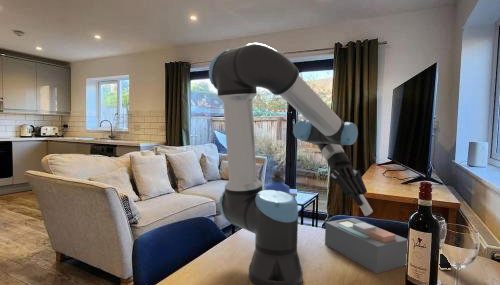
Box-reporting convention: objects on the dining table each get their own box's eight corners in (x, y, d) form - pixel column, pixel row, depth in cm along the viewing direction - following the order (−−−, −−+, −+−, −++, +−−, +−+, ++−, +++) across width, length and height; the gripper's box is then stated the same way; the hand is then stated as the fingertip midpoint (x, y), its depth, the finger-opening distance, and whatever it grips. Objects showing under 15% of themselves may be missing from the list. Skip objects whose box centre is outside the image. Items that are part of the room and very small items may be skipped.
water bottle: (292, 234, 117) (293, 170, 115) (281, 241, 109) (283, 173, 107) (271, 229, 121) (272, 168, 120) (259, 236, 114) (260, 171, 112)
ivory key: (357, 234, 105) (358, 225, 105) (346, 236, 103) (347, 227, 103) (347, 229, 109) (347, 221, 109) (336, 231, 107) (337, 222, 107)
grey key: (375, 236, 98) (375, 226, 98) (363, 238, 96) (364, 229, 96) (363, 231, 102) (363, 222, 102) (352, 233, 100) (352, 224, 100)
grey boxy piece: (407, 265, 92) (408, 238, 91) (376, 273, 86) (377, 245, 86) (352, 238, 113) (353, 216, 112) (324, 244, 107) (325, 221, 107)
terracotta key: (394, 245, 91) (395, 234, 91) (383, 247, 89) (383, 237, 89) (381, 239, 96) (381, 229, 96) (370, 241, 94) (370, 231, 93)
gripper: (343, 162, 118) (375, 216, 104) (317, 164, 112) (347, 221, 98) (354, 150, 112) (390, 205, 99) (327, 151, 107) (361, 210, 93)
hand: (369, 213), depth 98 cm, fingers closed
